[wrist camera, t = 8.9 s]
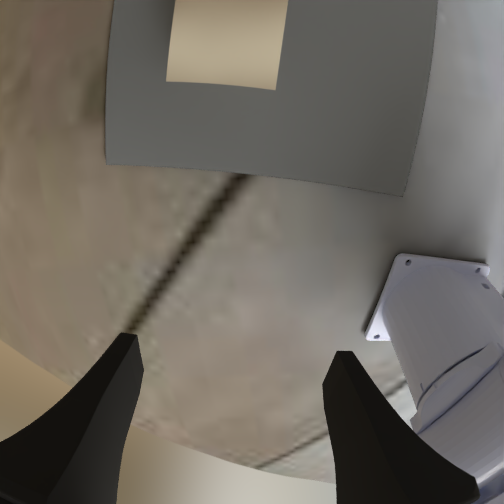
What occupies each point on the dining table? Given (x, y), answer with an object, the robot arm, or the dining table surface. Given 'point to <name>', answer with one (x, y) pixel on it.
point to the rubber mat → (280, 96)
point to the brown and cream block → (227, 42)
